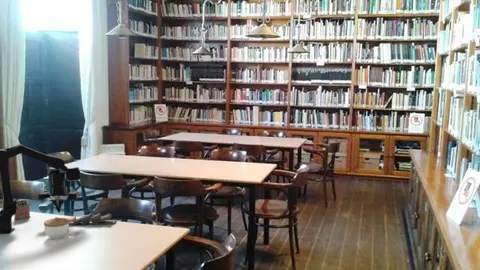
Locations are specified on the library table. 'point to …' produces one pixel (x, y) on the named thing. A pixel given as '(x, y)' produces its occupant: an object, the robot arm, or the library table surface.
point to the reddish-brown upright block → (22, 210)
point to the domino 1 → (71, 219)
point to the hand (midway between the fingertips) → (59, 212)
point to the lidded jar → (56, 227)
